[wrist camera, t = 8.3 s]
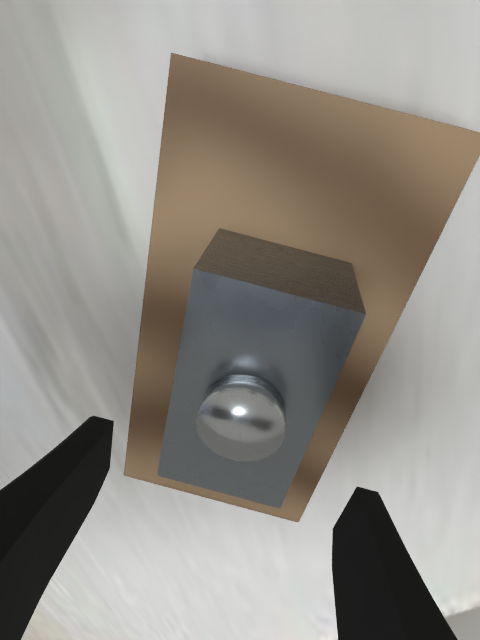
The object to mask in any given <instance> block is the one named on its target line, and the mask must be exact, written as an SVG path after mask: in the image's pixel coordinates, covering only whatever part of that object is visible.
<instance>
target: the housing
mask: <svg viewBox="0 0 480 640" xmlns="http://www.w3.org/2000/svg"><path fill="white" fill-rule="evenodd" d="M365 316H366V311H365V308H364V305H363V301H362V298H361V294H360V291H359V287H358V284H357V280H356V277H355V273H354V270H353V267H352V263H350V262H346V261H342V260H339V259H335V258H331V257H327V256H323V255H320V254H316V253H312V252H308V251H304V250H300V249H297V248H293V247H289V246H285V245H281V244H278V243H274V242H270V241H266V240H262V239H259V238H255V237H251V236H247V235H243V234H240V233H236V232H232V231H228V230H224V229H221V228H219V229H218V231H217V232H216V234H215V235H214V237H213V239H212V240H211V242H210V243H209V245H208V246H207V248H206V249H205V251H204V253H203V254H202V256H201V257H200V259H199V260H198V262H197V263H196V265H195V267H194V268H193V273H192V278H191V284H190V290H189V296H188V301H187V307H186V313H185V318H184V324H183V330H182V335H181V341H180V347H179V352H178V358H177V364H176V370H175V375H174V381H173V387H172V392H171V398H170V404H169V409H168V415H167V421H166V426H165V432H164V438H163V444H162V449H161V455H160V461H159V466H158V472H157V476H160V477H164V478H168V479H171V480H175V481H179V482H182V483H186V484H190V485H194V486H197V487H201V488H205V489H208V490H212V491H216V492H220V493H223V494H227V495H231V496H234V497H238V498H242V499H245V500H249V501H253V502H257V503H260V504H264V505H268V506H271V507H275V508H279V509H280V508H281V506H282V504H283V501H284V499H285V497H286V495H287V492H288V490H289V488H290V486H291V483H292V481H293V479H294V477H295V474H296V472H297V470H298V467H299V465H300V463H301V461H302V458H303V456H304V454H305V452H306V449H307V447H308V445H309V443H310V440H311V438H312V436H313V434H314V431H315V429H316V427H317V424H318V422H319V420H320V418H321V415H322V413H323V411H324V409H325V406H326V404H327V402H328V400H329V397H330V395H331V393H332V391H333V388H334V386H335V384H336V381H337V379H338V377H339V375H340V372H341V370H342V368H343V366H344V363H345V361H346V359H347V357H348V354H349V352H350V350H351V348H352V345H353V343H354V341H355V338H356V336H357V334H358V332H359V329H360V327H361V325H362V323H363V320H364V318H365Z"/></svg>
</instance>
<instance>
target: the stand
mask: <svg viewBox="0 0 480 640" xmlns="http://www.w3.org/2000/svg"><path fill="white" fill-rule="evenodd" d="M479 156H480V132H476V131H472V130H468V129H464V128H460V127H456V126H453V125H449V124H445V123H441V122H437V121H433V120H429V119H426V118H422V117H418V116H414V115H410V114H406V113H402V112H398V111H395V110H391V109H387V108H383V107H379V106H375V105H371V104H367V103H364V102H360V101H356V100H352V99H348V98H344V97H340V96H337V95H333V94H329V93H325V92H321V91H317V90H313V89H309V88H306V87H302V86H298V85H294V84H290V83H286V82H282V81H279V80H275V79H271V78H267V77H263V76H259V75H255V74H251V73H248V72H244V71H240V70H236V69H232V68H228V67H224V66H220V65H217V64H213V63H209V62H205V61H201V60H197V59H193V58H190V57H186V56H182V55H178V54H174V53H171V59H170V68H169V77H168V86H167V95H166V103H165V112H164V121H163V130H162V139H161V148H160V157H159V166H158V175H157V184H156V193H155V201H154V210H153V219H152V228H151V237H150V246H149V255H148V264H147V273H146V282H145V291H144V299H143V308H142V317H141V326H140V335H139V344H138V353H137V362H136V371H135V380H134V389H133V398H132V406H131V415H130V424H129V433H128V442H127V451H126V460H125V469H124V475H125V476H128V477H132V478H136V479H139V480H143V481H147V482H151V483H154V484H158V485H162V486H165V487H169V488H173V489H176V490H180V491H184V492H188V493H191V494H195V495H199V496H202V497H206V498H210V499H213V500H217V501H221V502H225V503H228V504H232V505H236V506H239V507H243V508H247V509H250V510H254V511H258V512H262V513H265V514H269V515H273V516H276V517H280V518H284V519H287V520H291V521H295V522H299V520H300V518H301V516H302V514H303V512H304V510H305V508H306V506H307V504H308V502H309V500H310V498H311V496H312V494H313V492H314V490H315V488H316V486H317V484H318V482H319V480H320V478H321V476H322V474H323V472H324V470H325V468H326V466H327V464H328V461H329V459H330V457H331V455H332V453H333V451H334V449H335V447H336V445H337V443H338V441H339V439H340V437H341V435H342V433H343V431H344V429H345V427H346V425H347V423H348V421H349V419H350V417H351V415H352V413H353V411H354V409H355V407H356V405H357V403H358V401H359V399H360V397H361V395H362V393H363V391H364V389H365V387H366V385H367V382H368V380H369V378H370V376H371V374H372V372H373V370H374V368H375V366H376V364H377V362H378V360H379V358H380V356H381V354H382V352H383V350H384V348H385V346H386V344H387V342H388V340H389V338H390V336H391V334H392V332H393V330H394V328H395V326H396V324H397V322H398V320H399V318H400V316H401V314H402V312H403V310H404V308H405V306H406V303H407V301H408V299H409V297H410V295H411V293H412V291H413V289H414V287H415V285H416V283H417V281H418V279H419V277H420V275H421V273H422V271H423V269H424V267H425V265H426V263H427V261H428V259H429V257H430V255H431V253H432V251H433V249H434V247H435V245H436V243H437V241H438V239H439V237H440V235H441V233H442V231H443V229H444V227H445V224H446V222H447V220H448V218H449V216H450V214H451V212H452V210H453V208H454V206H455V204H456V202H457V200H458V198H459V196H460V194H461V192H462V190H463V188H464V186H465V184H466V182H467V180H468V178H469V176H470V174H471V172H472V170H473V168H474V166H475V164H476V162H477V160H478V158H479ZM219 228H221V229H224V230H228V231H232V232H236V233H240V234H243V235H247V236H251V237H255V238H259V239H262V240H266V241H270V242H274V243H278V244H281V245H285V246H289V247H293V248H297V249H300V250H304V251H308V252H312V253H316V254H320V255H323V256H327V257H331V258H335V259H339V260H342V261H346V262H350V263H352V267H353V270H354V273H355V277H356V280H357V284H358V287H359V291H360V294H361V298H362V301H363V305H364V308H365V311H366V316H365V318H364V320H363V323H362V325H361V327H360V329H359V332H358V334H357V336H356V338H355V341H354V343H353V345H352V348H351V350H350V352H349V354H348V357H347V359H346V361H345V363H344V366H343V368H342V370H341V372H340V375H339V377H338V379H337V381H336V384H335V386H334V388H333V391H332V393H331V395H330V397H329V400H328V402H327V404H326V406H325V409H324V411H323V413H322V415H321V418H320V420H319V422H318V424H317V427H316V429H315V431H314V434H313V436H312V438H311V440H310V443H309V445H308V447H307V449H306V452H305V454H304V456H303V458H302V461H301V463H300V465H299V467H298V470H297V472H296V474H295V477H294V479H293V481H292V483H291V486H290V488H289V490H288V492H287V495H286V497H285V499H284V501H283V504H282V506H281V508H280V509H279V508H275V507H271V506H268V505H264V504H260V503H257V502H253V501H249V500H245V499H242V498H238V497H234V496H231V495H227V494H223V493H220V492H216V491H212V490H208V489H205V488H201V487H197V486H194V485H190V484H186V483H182V482H179V481H175V480H171V479H168V478H164V477H160V476H157V472H158V466H159V461H160V455H161V449H162V444H163V438H164V432H165V426H166V421H167V415H168V409H169V404H170V398H171V392H172V387H173V381H174V375H175V370H176V364H177V358H178V352H179V347H180V341H181V335H182V330H183V324H184V318H185V313H186V307H187V301H188V296H189V290H190V284H191V278H192V273H193V268H194V267H195V265H196V263H197V262H198V260H199V259H200V257H201V256H202V254H203V253H204V251H205V249H206V248H207V246H208V245H209V243H210V242H211V240H212V239H213V237H214V235H215V234H216V232H217V231H218V229H219Z"/></svg>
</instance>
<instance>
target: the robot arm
mask: <svg viewBox="0 0 480 640" xmlns="http://www.w3.org/2000/svg"><path fill="white" fill-rule="evenodd" d="M113 423H114V421H111V420H107V419H104V418H100V417H96V416H92V417H89V418H88V419H87V420H86V421H85V422H84V423H83V424H82V425H81V426H80V427H78V428H77V429H76V430H75V431H74V432H73V433H72V434H71V435H69V436H68V437H67V438H66V439H65V440H64V441H62V442H61V443H60V444H59V445H58V446H57V447H55V448H54V449H53V450H52V451H51V452H49V453H48V454H47V455H46V456H44V457H43V458H42V459H41V460H39V461H38V462H37V463H36V464H34V465H33V466H32V467H31V468H29V469H28V470H27V471H25V472H24V473H23V474H22V475H20V476H19V477H17V478H16V479H15V480H13V481H12V482H11V483H9V484H8V485H7V486H5V487H4V488H2V489H1V490H0V640H21V638H22V636H23V634H24V632H25V629H26V627H27V625H28V623H29V621H30V619H31V617H32V615H33V613H34V610H35V608H36V606H37V604H38V602H39V600H40V598H41V596H42V594H43V592H44V590H45V588H46V587H47V585H48V583H49V581H50V579H51V577H52V576H53V574H54V572H55V571H56V569H57V567H58V565H59V564H60V562H61V560H62V558H63V557H64V555H65V553H66V551H67V550H68V548H69V546H70V544H71V543H72V541H73V539H74V538H75V536H76V534H77V532H78V531H79V529H80V527H81V525H82V524H83V522H84V520H85V518H86V517H87V515H88V513H89V511H90V510H91V508H92V506H93V504H94V502H95V500H96V498H97V496H98V494H99V491H100V489H101V487H102V485H103V482H104V480H105V478H106V475H107V473H108V471H109V468H110V458H111V446H112V434H113ZM332 572H333V584H334V596H335V607H336V618H337V629H338V640H457V638H456V636H455V635H454V633H453V632H452V630H451V628H450V627H449V625H448V623H447V622H446V620H445V618H444V617H443V615H442V613H441V612H440V610H439V608H438V606H437V605H436V603H435V601H434V600H433V598H432V596H431V594H430V592H429V591H428V589H427V587H426V585H425V583H424V582H423V580H422V578H421V576H420V574H419V572H418V570H417V569H416V567H415V565H414V563H413V561H412V559H411V557H410V555H409V553H408V551H407V550H406V548H405V546H404V544H403V542H402V540H401V538H400V536H399V534H398V532H397V530H396V528H395V526H394V524H393V522H392V519H391V517H390V515H389V513H388V511H387V509H386V507H385V505H384V503H383V501H382V499H381V497H380V495H379V493H378V492H375V491H372V490H368V489H364V488H360V487H357V488H356V489H355V491H354V493H353V495H352V496H351V498H350V500H349V502H348V503H347V505H346V507H345V509H344V510H343V512H342V514H341V515H340V517H339V519H338V521H337V522H336V524H335V526H334V528H333V544H332Z"/></svg>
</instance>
